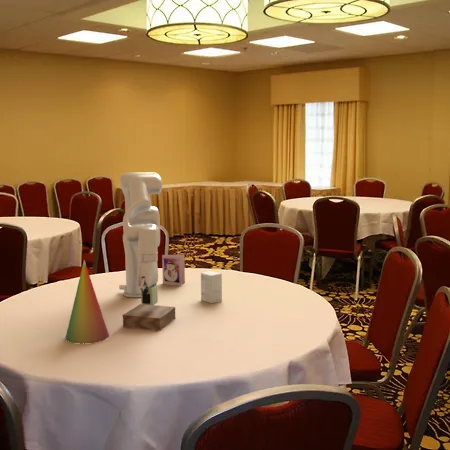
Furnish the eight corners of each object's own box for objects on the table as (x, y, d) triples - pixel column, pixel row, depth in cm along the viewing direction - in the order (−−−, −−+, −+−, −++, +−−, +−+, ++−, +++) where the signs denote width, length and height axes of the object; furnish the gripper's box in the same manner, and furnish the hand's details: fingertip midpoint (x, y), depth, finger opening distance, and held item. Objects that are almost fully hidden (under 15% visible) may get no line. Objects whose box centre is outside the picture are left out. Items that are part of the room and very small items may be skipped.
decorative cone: (65, 346, 211) (61, 265, 207) (65, 331, 227) (61, 256, 222) (110, 341, 216) (107, 262, 211) (107, 328, 231) (104, 254, 227)
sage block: (141, 304, 234) (140, 287, 233) (146, 301, 239) (146, 284, 238) (152, 305, 233) (152, 288, 232) (157, 302, 238) (157, 285, 237)
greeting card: (161, 283, 300) (161, 255, 298) (169, 280, 307) (169, 252, 305) (180, 286, 295) (180, 257, 293) (188, 283, 302) (187, 254, 299)
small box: (222, 301, 268) (222, 273, 266) (211, 303, 264) (211, 275, 262) (211, 297, 275) (211, 270, 273) (200, 299, 271) (200, 272, 269)
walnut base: (123, 327, 232) (122, 314, 231) (140, 315, 247) (140, 303, 247) (160, 330, 228) (160, 318, 227) (175, 318, 243) (175, 307, 242)
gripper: (148, 253, 243) (149, 295, 245) (130, 261, 226) (131, 306, 229) (165, 254, 240) (166, 296, 243) (148, 262, 224) (149, 308, 227)
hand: (149, 301), depth 236 cm, fingers closed on sage block, 5 cm apart
